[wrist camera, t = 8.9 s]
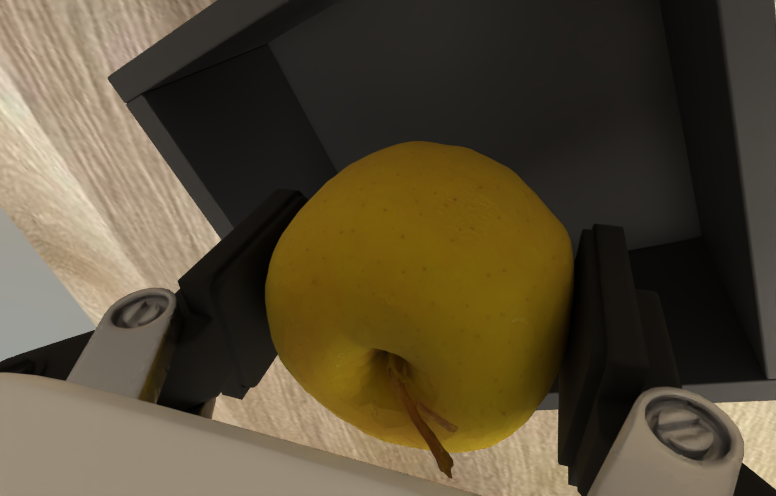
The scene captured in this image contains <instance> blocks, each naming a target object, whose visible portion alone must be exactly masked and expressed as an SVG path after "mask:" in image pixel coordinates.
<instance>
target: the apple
mask: <svg viewBox="0 0 776 496" xmlns="http://www.w3.org/2000/svg"><path fill="white" fill-rule="evenodd" d="M573 298H574V257H573V249H572V243H571V240H570V237H569V235H568V233H567V230H566V229H565V227H564V226H563V224H562V223H561V222H560V221H559V220H558V219H557V218H556V216H555V215H554V214H553V213H552V212H551V211H550V210H549V209H548V207H547V206H546V205H545V204H544V203H543V201H542V200H541V199H540V198H539V197H538V195H537V194H536V193H535V192H534V191H533V190H532V189H531V188H529V187H528V186H527V185H526V183H525V182H524V181H523V180H522V179H521V178H520V177H519V176H518V175H517V174H516V173H515V172H514V171H512V170H511V169H510V168H508V167H506V166H504V165H502V164H500V163H498V162H496V161H495V160H493V159H491V158H489V157H487V156H485V155H483V154H480V153H478V152H476V151H474V150H472V149H469V148H466V147H462V146H452V145H444V144H439V143H433V142H425V141H410V142H405V143H400V144H396V145H393V146H390V147H387V148H384V149H381V150H379V151H377V152H374V153H372V154H369V155H367V156H366V157H364V158H362V159H360V160H358V161H356V162H354V163H352V164H350V165H349V166H347V167H346V168H344V169H343V170H342V171H341V172H340V173H338V174H337V175H336V176H335V177H333V178H332V179H330V180H329V181H327V182H326V183H325V184H324V185H323V187H322V188H321V189H320V190H319V191H318V192H317V193H316V194H315V195H314V196H313V197H312V198H311V199H310V200H309V201H308V202H307V203H306V204H305V205H304V206H303V207H302V208H301V209H300V210H299V212H298V213H297V215H296V216H295V217H294V219H293V220H292V221H291V223H290V224H289V225H288V227H287V228H286V230H285V231H284V232H283V234H282V235H281V237H280V239H279V241H278V243H277V245H276V247H275V249H274V252H273V254H272V258H271V261H270V264H269V269H268V275H267V279H266V284H265V304H266V310H267V318H268V323H269V327H270V333H271V338H272V341H273V343H274V346H275V349H276V351H277V353H278V355H279V358H280V360H281V362H282V363H283V364H284V366H285V367H286V369H287V370H288V371H289V372H290V373H291V375H292V376H293V377H294V378H295V379H296V380H297V382H298V383H299V384H300V385H301V386H302V387H303V388H304V390H305V391H306V392H307V393H309V394H310V395H311V396H312V397H314V398H315V399H316V400H317V401H318V402H319V403H321V404H322V405H323V406H324V407H326V408H327V409H328V410H329V411H331V412H332V413H333V414H335V415H336V416H337V417H339V418H340V419H342V420H344V421H346V422H348V423H349V424H351V425H353V426H355V427H356V428H358V429H359V430H361V431H362V432H364V433H365V434H368V435H370V436H373V437H375V438H378V439H380V440H382V441H384V442H389V443H394V444H398V445H403V446H408V447H413V448H418V449H425V450H431V452H432V453H433V455H434V457H435V458H436V461H437V464H438V467H439V469H440V470H441V472H444V473H445V474H446V475H447V476H448V478H452V474H451V468H452V467H453V460H452V458H451V457H450V455H449V454H448V452H451V453H457V452H468V451H474V450H479V449H484V448H487V447H491V446H493V445H495V444H497V443H498V442H500V441H502V440H504V439H505V438H507V437H509V436H511V435H512V434H513V433H514V432H515V431H516V430H518V429H519V428H520V427H521V426H522V425H523V424H524V423H526V422H527V421H528V420H529V418H530V417H531V416H532V414H533V413H534V412H535V410H536V409H537V408H538V406H539V405H540V404H541V403H542V401H543V400H544V399H545V397H546V396H547V394H548V392H549V391H550V389H551V387H552V384H553V382H554V380H555V378H556V376H557V374H558V372H559V370H560V368H561V364H562V361H563V358H564V354H565V350H566V345H567V340H568V335H569V328H570V321H571V312H572V305H573Z"/></svg>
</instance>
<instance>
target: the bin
mask: <svg viewBox="0 0 776 496" xmlns="http://www.w3.org/2000/svg"><path fill="white" fill-rule="evenodd" d="M108 80H109V82H110V83H111V84H112V86H113V87H114V89H115V90H116V91H117V93H118V94H119V96H120V97H121V98H122V100H123V101H124V102H125V103H127V104H126V106H127V107H128V109H129V110H130V111H131V113H132V114H133V116H134V117H135V119H136V120H137V121H138V123H139V124H140V126H141V127H142V128H143V130H144V131H145V133H146V134H147V135H148V137H149V138H150V140H151V141H152V142H153V144H154V145H155V147H156V148H157V149H158V151H159V152H160V154H161V155H162V157H163V158H164V159H165V161H166V162H167V164H168V165H169V166H170V168H171V169H172V171H173V172H174V173H175V175H176V176H177V178H178V179H179V180H180V182H181V183H182V185H183V186H184V188H185V189H186V190H187V192H188V193H189V195H190V196H191V197H192V199H193V200H194V202H195V203H196V204H197V206H198V207H199V209H200V210H201V211H202V213H203V214H204V216H205V217H206V218H207V220H208V221H209V223H210V224H211V226H212V227H213V228H214V230H215V231H216V233H217V234H218V235H219V237H220V238H221V240H222V239H223V238H224V237H226V236H227V235H228V234H229V233H230V232H231V231H232V230H233V229H234V228H235V227H236V226H237V225H238V224H240V223H241V222H242V221H243V220H244V219H245V218H246V217H247V216H248V215H249V214H250V213H251V212H252V211H254V210H255V209H256V208H257V207H258V206H259V205H260V204H261V203H262V202H263V201H264V200H265V199H267V198H268V197H269V196H270V195H271V194H272V193H273V192H274V191H275V190H277V189H278V188H281V189H290V190H299V191H301V192H302V194H303V197H307V198H308V200H310V199H311V198H312V197H313V196H314V195H315V194H316V193H317V192H318V191H319V190H320V189H321V188H322V187H323V185H324V184H325V183H326V182H327V181H329V180H330V179H332V178H333V177H335V176H336V175H337V174H338V173H340V172H341V171H342V170H343V169H344V168H346V167H347V166H349V165H350V164H352V163H354V162H356V161H358V160H360V159H362V158H364V157H366V156H367V155H369V154H372V153H374V152H377V151H379V150H381V149H384V148H387V147H390V146H393V145H396V144H400V143H405V142H410V141H425V142H433V143H439V144H444V145H452V146H462V147H466V148H469V149H472V150H474V151H476V152H478V153H480V154H483V155H485V156H487V157H489V158H491V159H493V160H495V161H496V162H498V163H500V164H502V165H504V166H506V167H508V168H510V169H511V170H512V171H514V172H515V173H516V174H517V175H518V176H519V177H520V178H521V179H522V180H523V181H524V182H525V183H526V185H527V186H528V187H529V188H531V189H532V190H533V191H534V192H535V193H536V194H537V195H538V197H539V198H540V199H541V200H542V201H543V203H544V204H545V205H546V206H547V207H548V209H549V210H550V211H551V212H552V213H553V214H554V215H555V216H556V218H557V219H558V220H559V221H560V222H561V223H562V224H563V226H564V227H565V229H566V230H567V233H568V235H569V237H570V240H571V243H572V249H573V257H574V262H575V258H576V254H577V250H578V245H579V241H580V237H581V233H582V230H583V229H589V230H592V227H593V225H594V224H604V225H613V226H622V227H623V229H624V234H625V240H626V245H627V250H628V255H629V260H630V266H631V271H632V276H633V281H634V287H635V289H639V290H646V291H653V292H656V293H657V294H658V296H659V298H660V302H661V306H662V310H663V314H664V318H665V322H666V326H667V330H668V334H669V338H670V342H671V346H672V350H673V354H674V358H675V361H676V365H677V369H678V373H679V377H680V381H681V385H682V389H684V390H687V391H690V392H693V393H695V394H698V395H700V396H702V397H704V398H705V399H707V400H709V401H711V402H712V403H721V402H745V401H769V400H776V14H775V2H774V0H217V1H215V2H214V3H213V4H211V5H210V6H208V7H207V8H205V9H204V10H203V11H201V12H200V13H198V14H197V15H195V16H194V17H193V18H191V19H190V20H188V21H187V22H185V23H184V24H183V25H181V26H180V27H178V28H177V29H175V30H174V31H173V32H171V33H170V34H168V35H167V36H165V37H164V38H163V39H161V40H160V41H158V42H157V43H155V44H154V45H153V46H151V47H150V48H148V49H147V50H145V51H144V52H143V53H141V54H140V55H138V56H137V57H136V58H134V59H133V60H131V61H130V62H128V63H127V64H126V65H124V66H123V67H121V68H120V69H118V70H117V71H116V72H114V73H113V74H111V75H110V76H109V77H108ZM556 409H559V372H558V374H557V376H556V378H555V380H554V382H553V384H552V387H551V389H550V391H549V392H548V394H547V396H546V397H545V399H544V400H543V401H542V403H541V404H540V405H539V406H538V408H537V409H536V410H556Z"/></svg>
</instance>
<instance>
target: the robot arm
mask: <svg viewBox="0 0 776 496" xmlns="http://www.w3.org/2000/svg"><path fill="white" fill-rule="evenodd" d="M308 201H309V200H308V198H307V197H303V194H302V192H301V191H299V190H290V189H281V188H278V189H277V190H275V191H274V192H273V193H272V194H271V195H270V196H269V197H268V198H267V199H265V200H264V201H263V202H262V203H261V204H260V205H259V206H258V207H257V208H256V209H255V210H254V211H252V212H251V213H250V214H249V215H248V216H247V217H246V218H245V219H244V220H243V221H242V222H241V223H240V224H238V225H237V226H236V227H235V228H234V229H233V230H232V231H231V232H230V233H229V234H228V235H227V236H226V237H224V238H223V239H222V240H221V241H220V242H219V243H218V244H217V245H216V246H215V247H214V248H213V249H211V250H210V251H209V252H208V253H207V254H206V255H205V256H204V257H203V258H202V259H201V260H200V261H199V262H197V263H196V264H195V265H194V266H193V267H192V268H191V269H190V270H189V271H188V272H187V273H186V274H185V275H183V276H182V277H181V278H180V279H179V280H178V283H179V286H180V289H179V290H178V291H177V292H176V293H175V294H174V293H173V292H171V291H170V290H168V289H164V288H148V289H143V290H139V291H136V292H133V293H131V294H128V295H127V296H125V297H123V298H121V299H119V300H118V301H117V302H115V303H114V304H113V305H112V306H111V307H110V308H109V309H108V310H107V312H106V313H105V314H104V316H103V318H102V320H101V321H100V323H99V325H98V326H97V328H96V330H93V331H90V332H87V333H84V334H81V335H78V336H75V337H71V338H68V339H65V340H62V341H59V342H56V343H53V344H50V345H47V346H44V347H41V348H37V349H34V350H31V351H28V352H25V353H22V354H19V355H16V356H14V357H11V358H8V359H5V360H3V361H1V362H0V496H481V495H478V494H474V493H471V492H467V491H464V490H460V489H457V488H453V487H450V486H446V485H443V484H439V483H436V482H432V481H429V480H425V479H422V478H418V477H415V476H411V475H408V474H404V473H401V472H397V471H394V470H390V469H387V468H383V467H380V466H376V465H373V464H369V463H366V462H362V461H358V460H355V459H351V458H348V457H344V456H341V455H337V454H334V453H330V452H326V451H323V450H319V449H316V448H312V447H309V446H305V445H301V444H298V443H294V442H291V441H287V440H284V439H280V438H276V437H273V436H269V435H266V434H262V433H258V432H255V431H251V430H248V429H244V428H240V427H237V426H233V425H230V424H226V423H222V422H219V421H215V420H212V415H213V411H214V406H215V402H216V397H218V395H219V394H220V393H221V392H222V395H226V396H230V397H234V398H238V399H241V400H242V399H243V397H244V396H245V394H246V393H247V392H248V390H249V389H250V387H255V386H257V384H258V383H259V382H260V380H261V379H262V377H263V376H264V374H265V373H266V371H267V370H268V368H269V367H270V365H271V364H272V362H273V361H274V359H275V358H276V356H277V355H278V353H277V351H276V349H275V346H274V343H273V341H272V338H271V333H270V327H269V323H268V318H267V310H266V304H265V284H266V279H267V275H268V269H269V264H270V261H271V258H272V254H273V252H274V249H275V247H276V245H277V243H278V241H279V239H280V237H281V235H282V234H283V232H284V231H285V230H286V228H287V227H288V225H289V224H290V223H291V221H292V220H293V219H294V217H295V216H296V215H297V213H298V212H299V210H300V209H301V208H302V207H303V206H304V205H305V204H306V203H307V202H308ZM743 456H744V441H743V438H742V436H741V434H740V431H739V429H738V427H737V426H736V425H735V423H734V422H733V421H732V420H731V418H730V417H729V416H728V415H727V414H726V413H725V412H724V411H722V410H721V409H720V408H719V407H718V406H717V405H715V404H714V403H712V402H711V401H709V400H707V399H705V398H704V397H702V396H700V395H698V394H695V393H693V392H690V391H687V390H684V389H682V385H681V381H680V377H679V373H678V369H677V365H676V361H675V358H674V354H673V350H672V346H671V342H670V338H669V334H668V330H667V326H666V322H665V318H664V314H663V310H662V306H661V302H660V298H659V296H658V294H657V293H656V292H653V291H646V290H639V289H635V287H634V281H633V276H632V271H631V266H630V260H629V255H628V250H627V245H626V240H625V234H624V229H623V227H622V226H613V225H604V224H594V225H593V227H592V230H589V229H583V230H582V233H581V237H580V241H579V245H578V250H577V254H576V258H575V262H574V298H573V305H572V312H571V321H570V328H569V335H568V340H567V345H566V350H565V354H564V358H563V361H562V364H561V368H560V370H559V409H558V463H559V464H560V465H564V466H568V484H569V485H572V486H576V487H578V492H579V493H580V494H581V495H582V496H776V490H775V489H774V488H773V487H772V486H771V485H769V484H768V483H767V482H766V481H764V480H763V479H762V478H761V477H759V476H758V475H757V474H756V473H754V472H753V471H752V470H751V469H749V468H748V467H747V466H746V465H744V464H743V463H742V460H743Z"/></svg>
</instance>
